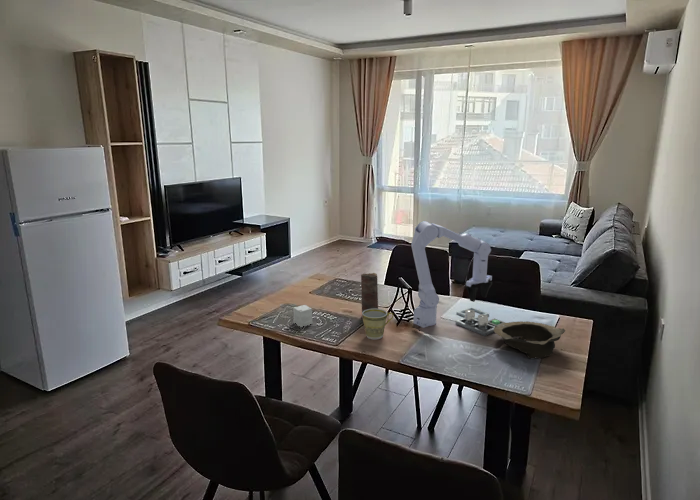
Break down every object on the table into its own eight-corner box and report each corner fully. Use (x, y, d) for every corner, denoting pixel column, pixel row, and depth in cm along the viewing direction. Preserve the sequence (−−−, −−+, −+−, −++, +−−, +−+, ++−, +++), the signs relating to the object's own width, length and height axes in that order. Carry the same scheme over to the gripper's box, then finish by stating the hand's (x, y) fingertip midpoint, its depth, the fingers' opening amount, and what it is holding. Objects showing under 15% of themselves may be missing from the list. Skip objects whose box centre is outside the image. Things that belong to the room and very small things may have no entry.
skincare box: (305, 320, 202) (305, 304, 200) (312, 324, 197) (312, 308, 195) (293, 323, 198) (292, 307, 196) (300, 327, 193) (299, 311, 191)
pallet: (484, 338, 181) (484, 332, 181) (455, 326, 193) (455, 320, 193) (497, 333, 186) (497, 327, 185) (468, 321, 198) (468, 316, 197)
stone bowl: (558, 369, 156) (558, 344, 154) (485, 357, 170) (484, 333, 168) (568, 341, 177) (568, 318, 175) (502, 332, 190) (502, 311, 188)
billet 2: (482, 332, 184) (483, 318, 183) (475, 329, 187) (476, 315, 186) (489, 330, 186) (490, 316, 185) (482, 327, 189) (483, 313, 188)
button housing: (497, 330, 188) (497, 326, 188) (485, 326, 193) (485, 321, 192) (506, 327, 192) (506, 322, 191) (494, 322, 196) (494, 318, 196)
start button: (496, 328, 190) (496, 323, 190) (490, 326, 193) (490, 320, 192) (500, 326, 192) (501, 321, 191) (494, 324, 194) (495, 319, 194)
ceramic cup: (366, 342, 178) (366, 319, 176) (359, 332, 188) (359, 309, 185) (397, 338, 182) (397, 315, 179) (388, 329, 191) (389, 306, 189)
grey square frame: (474, 322, 196) (474, 318, 196) (456, 315, 204) (456, 311, 204) (488, 317, 202) (489, 313, 201) (470, 310, 210) (471, 306, 209)
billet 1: (470, 327, 189) (470, 313, 188) (462, 324, 192) (463, 311, 191) (476, 325, 192) (477, 311, 190) (468, 322, 195) (469, 308, 193)
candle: (358, 318, 203) (358, 275, 198) (364, 312, 209) (364, 270, 204) (375, 320, 200) (375, 276, 195) (380, 314, 207) (380, 272, 202)
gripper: (476, 274, 186) (474, 305, 189) (498, 267, 194) (496, 298, 197) (462, 270, 191) (461, 300, 195) (485, 264, 200) (483, 293, 203)
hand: (478, 299), depth 196 cm, fingers open, 7 cm apart
